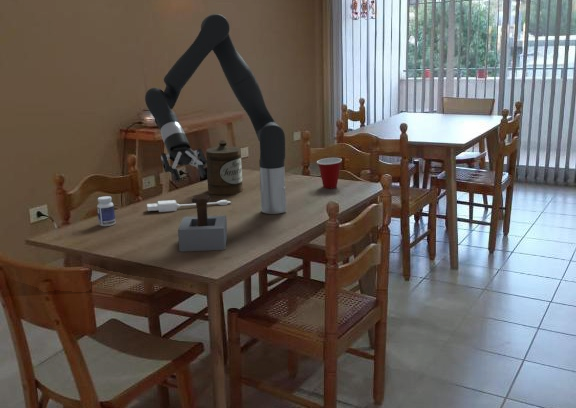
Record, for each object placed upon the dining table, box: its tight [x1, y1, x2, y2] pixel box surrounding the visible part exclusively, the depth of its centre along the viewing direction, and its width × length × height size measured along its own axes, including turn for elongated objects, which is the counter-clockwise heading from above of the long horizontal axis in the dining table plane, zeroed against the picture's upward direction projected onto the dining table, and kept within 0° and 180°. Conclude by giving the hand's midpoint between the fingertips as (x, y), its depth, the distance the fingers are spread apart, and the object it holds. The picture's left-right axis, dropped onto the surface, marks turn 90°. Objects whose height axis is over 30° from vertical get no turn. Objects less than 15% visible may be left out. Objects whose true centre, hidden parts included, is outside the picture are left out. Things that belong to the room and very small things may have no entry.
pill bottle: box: [96, 195, 117, 227], centre depth 215 cm, size 6×6×10 cm
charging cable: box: [146, 199, 232, 213], centre depth 234 cm, size 5×32×3 cm, turn 107°
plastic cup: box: [316, 157, 343, 189], centre depth 259 cm, size 11×11×12 cm
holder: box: [177, 214, 228, 252], centre depth 193 cm, size 14×14×7 cm
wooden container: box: [205, 139, 243, 196], centre depth 256 cm, size 15×15×22 cm
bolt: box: [191, 194, 211, 226], centre depth 191 cm, size 6×5×15 cm
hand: (191, 178), depth 194 cm, fingers open, 8 cm apart
